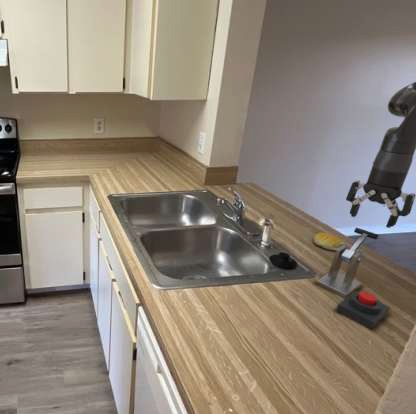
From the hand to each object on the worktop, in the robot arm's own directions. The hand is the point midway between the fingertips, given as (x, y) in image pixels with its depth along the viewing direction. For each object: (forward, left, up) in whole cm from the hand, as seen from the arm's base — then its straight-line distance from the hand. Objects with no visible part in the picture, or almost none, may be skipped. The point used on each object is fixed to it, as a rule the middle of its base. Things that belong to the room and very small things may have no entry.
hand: (370, 221), depth 96 cm
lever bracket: (+9, 0, -19) cm, 21 cm away
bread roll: (-14, -13, -19) cm, 27 cm away
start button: (+17, +9, -15) cm, 24 cm away
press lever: (+4, 0, -8) cm, 9 cm away
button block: (+17, +9, -19) cm, 27 cm away
